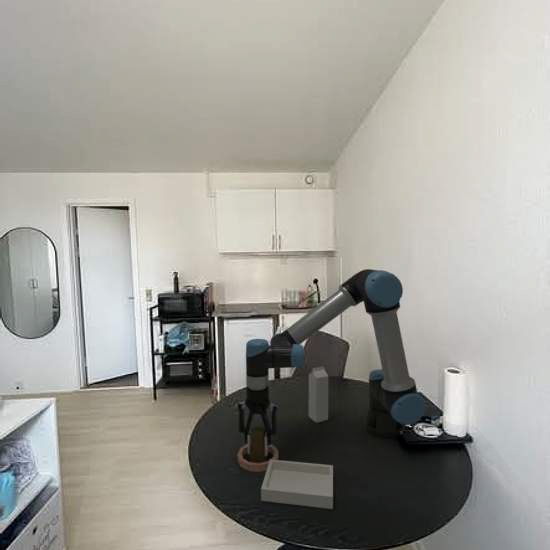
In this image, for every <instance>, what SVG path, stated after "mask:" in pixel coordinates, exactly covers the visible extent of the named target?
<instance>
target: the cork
mask: <svg viewBox="0 0 550 550" xmlns="http://www.w3.org/2000/svg"><path fill="white" fill-rule="evenodd" d="M249 431H250V435H251V438H252V442H251V451H250V454H249V462H252V463H262V462H266V461H268V455H267V456H265V435H266V431H265V427H264V426H261V425H255V426H253V427H251V428H250V430H249Z"/></svg>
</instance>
